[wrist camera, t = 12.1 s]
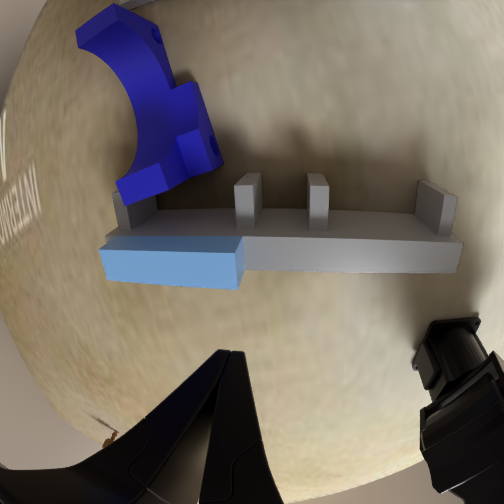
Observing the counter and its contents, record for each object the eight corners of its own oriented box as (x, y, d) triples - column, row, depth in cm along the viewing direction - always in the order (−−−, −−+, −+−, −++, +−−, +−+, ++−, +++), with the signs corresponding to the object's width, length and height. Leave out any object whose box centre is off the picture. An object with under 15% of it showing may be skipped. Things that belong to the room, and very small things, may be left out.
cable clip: (224, 163, 18) (195, 181, 13) (168, 181, 19) (124, 206, 14) (177, 17, 14) (136, -11, 8) (125, 44, 15) (75, 30, 9)
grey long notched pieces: (422, -11, 9) (463, -46, 3) (426, 240, 18) (470, 290, 12) (129, 0, 13) (74, -25, 6) (145, 234, 21) (95, 278, 15)
